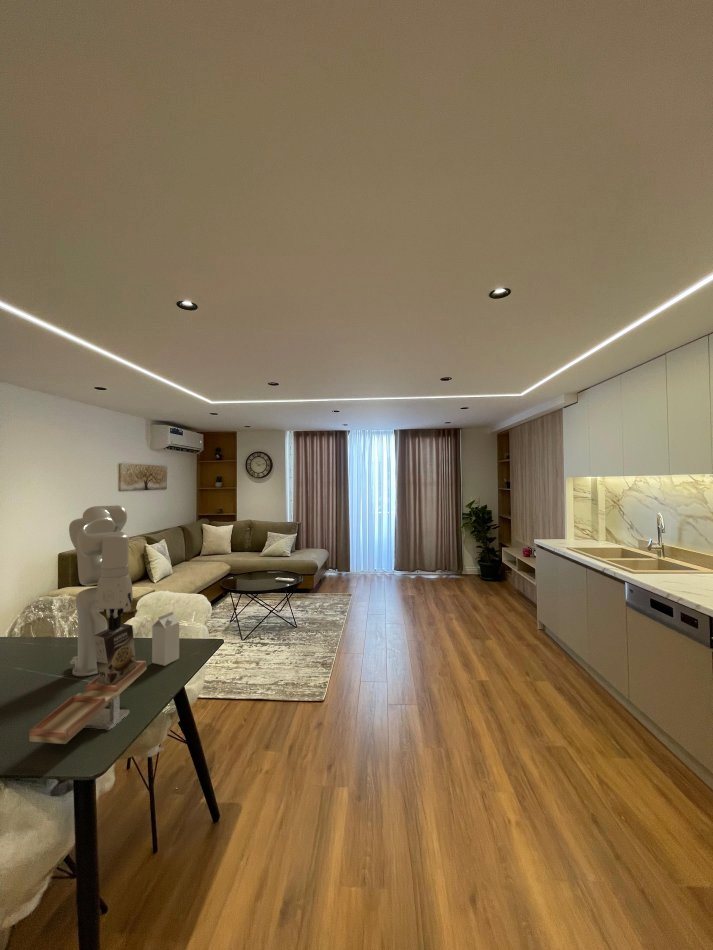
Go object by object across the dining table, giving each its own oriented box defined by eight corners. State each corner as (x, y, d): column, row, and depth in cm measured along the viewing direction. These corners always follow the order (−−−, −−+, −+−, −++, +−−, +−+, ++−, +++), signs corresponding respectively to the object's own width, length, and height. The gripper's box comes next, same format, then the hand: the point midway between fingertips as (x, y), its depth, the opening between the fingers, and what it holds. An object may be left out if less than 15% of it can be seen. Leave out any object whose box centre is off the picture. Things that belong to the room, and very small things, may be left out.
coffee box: (111, 686, 118) (106, 638, 117) (97, 682, 121) (92, 635, 119) (137, 670, 127) (133, 624, 125) (124, 666, 129) (120, 621, 128)
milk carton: (151, 663, 152) (152, 616, 152) (166, 655, 158) (167, 610, 159) (164, 666, 149) (165, 618, 149) (179, 658, 155) (179, 612, 156)
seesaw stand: (60, 726, 111) (60, 702, 112) (83, 711, 119) (83, 688, 120) (109, 730, 110) (109, 705, 110) (129, 713, 117) (129, 690, 118)
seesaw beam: (29, 744, 100) (27, 730, 99) (118, 669, 131) (117, 659, 131) (66, 747, 98) (65, 733, 98) (147, 671, 130) (146, 660, 129)
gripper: (85, 574, 120) (84, 632, 120) (127, 575, 119) (127, 633, 118) (103, 569, 128) (103, 624, 127) (144, 570, 126) (143, 625, 125)
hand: (114, 628), depth 122 cm, fingers closed
